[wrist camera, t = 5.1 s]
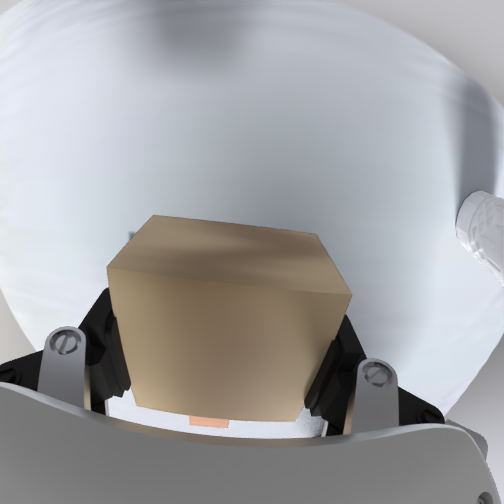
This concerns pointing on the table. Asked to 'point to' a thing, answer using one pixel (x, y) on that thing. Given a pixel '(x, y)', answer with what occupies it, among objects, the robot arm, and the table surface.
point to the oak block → (225, 317)
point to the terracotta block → (208, 422)
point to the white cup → (483, 230)
